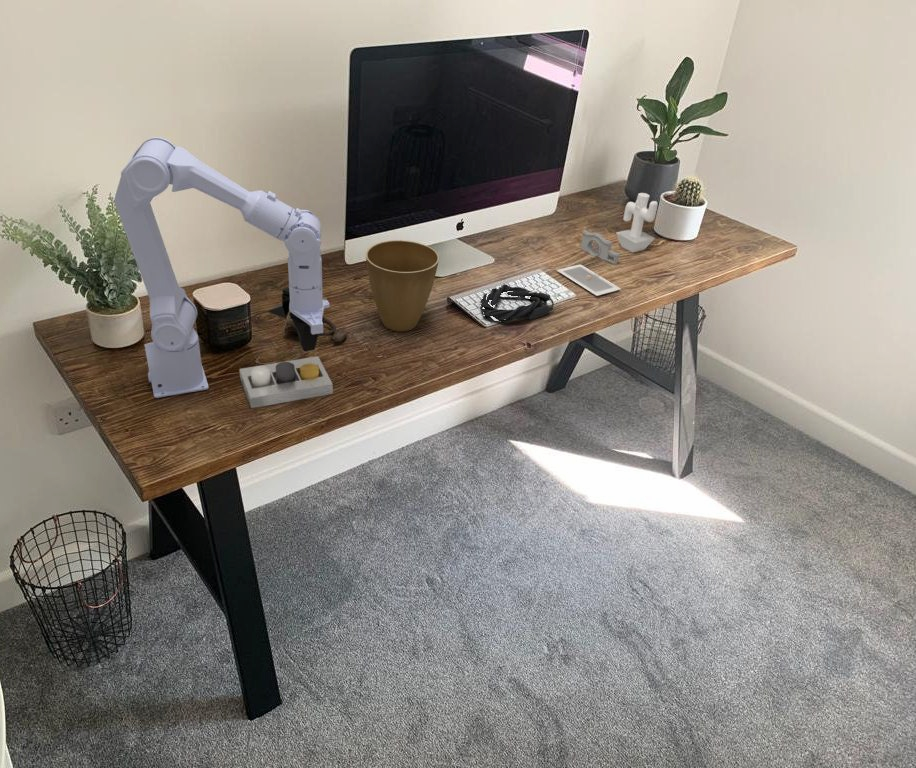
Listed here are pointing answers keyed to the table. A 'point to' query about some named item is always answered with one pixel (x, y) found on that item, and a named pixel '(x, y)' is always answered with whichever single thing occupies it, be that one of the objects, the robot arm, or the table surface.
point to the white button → (260, 376)
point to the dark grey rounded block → (285, 372)
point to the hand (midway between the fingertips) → (308, 348)
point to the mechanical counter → (337, 334)
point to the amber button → (309, 371)
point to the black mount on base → (282, 305)
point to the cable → (520, 312)
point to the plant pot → (401, 281)
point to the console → (287, 385)
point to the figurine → (637, 224)
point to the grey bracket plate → (603, 247)
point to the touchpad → (588, 279)
